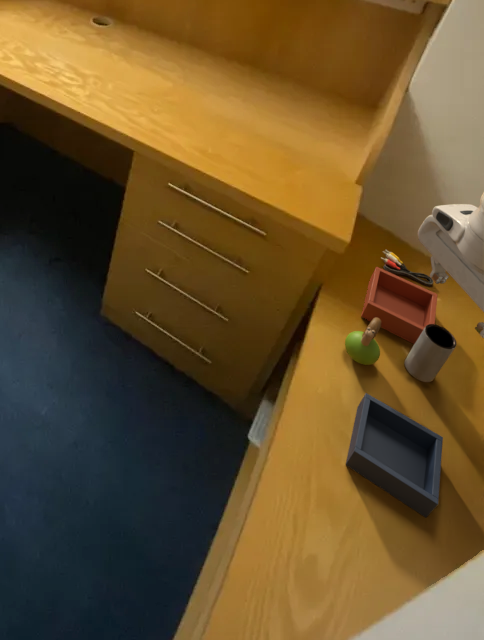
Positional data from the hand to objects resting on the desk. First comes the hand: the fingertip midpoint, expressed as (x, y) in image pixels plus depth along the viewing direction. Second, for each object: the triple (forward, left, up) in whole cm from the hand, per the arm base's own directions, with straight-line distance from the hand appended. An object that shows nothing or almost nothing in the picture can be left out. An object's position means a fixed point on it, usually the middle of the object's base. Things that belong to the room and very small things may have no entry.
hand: (458, 305), depth 82 cm
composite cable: (-12, -20, -20) cm, 31 cm away
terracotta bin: (-4, -11, -20) cm, 23 cm away
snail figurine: (+9, -3, -20) cm, 22 cm away
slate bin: (+14, +12, -20) cm, 27 cm away
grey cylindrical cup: (-1, 0, -20) cm, 20 cm away
